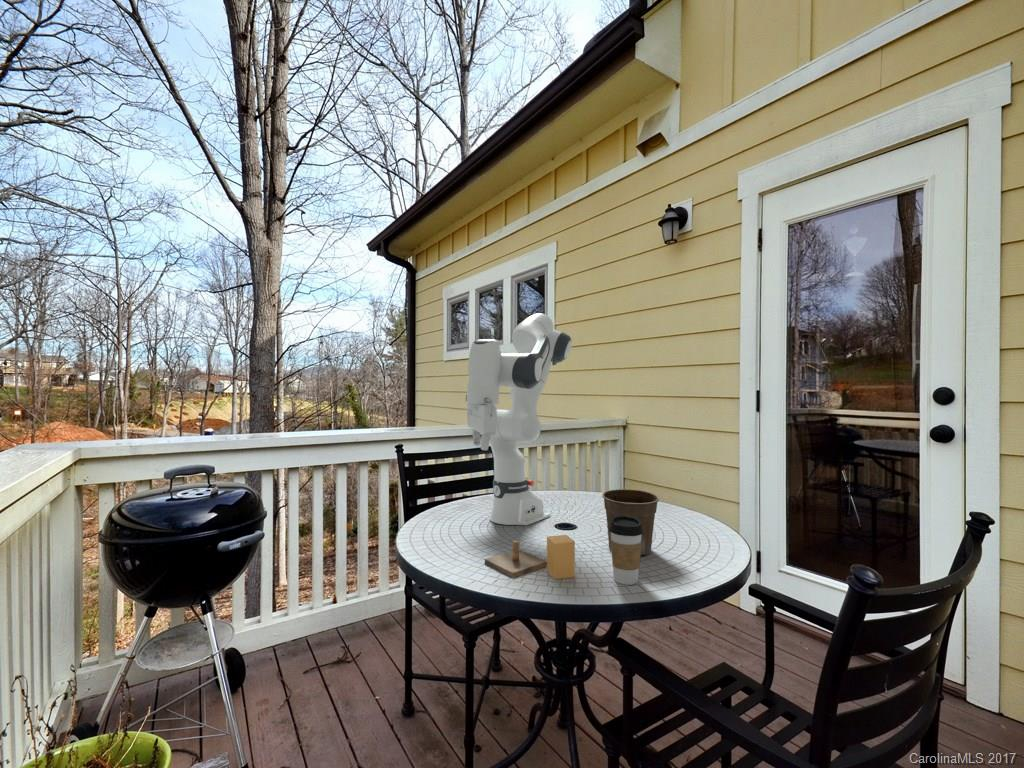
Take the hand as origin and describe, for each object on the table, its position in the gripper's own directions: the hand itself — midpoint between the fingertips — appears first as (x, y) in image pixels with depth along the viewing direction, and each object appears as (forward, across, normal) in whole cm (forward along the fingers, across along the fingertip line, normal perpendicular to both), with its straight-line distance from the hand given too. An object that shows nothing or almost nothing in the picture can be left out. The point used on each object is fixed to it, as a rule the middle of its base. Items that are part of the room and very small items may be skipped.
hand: (480, 447), depth 132 cm
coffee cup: (+30, -22, -34) cm, 50 cm away
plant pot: (+29, -4, -46) cm, 54 cm away
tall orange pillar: (+30, -14, -20) cm, 39 cm away
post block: (+31, -5, -10) cm, 33 cm away
